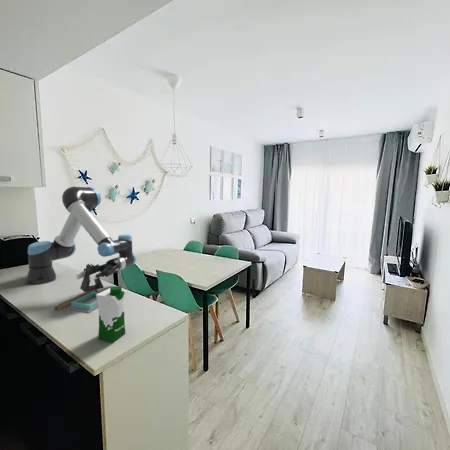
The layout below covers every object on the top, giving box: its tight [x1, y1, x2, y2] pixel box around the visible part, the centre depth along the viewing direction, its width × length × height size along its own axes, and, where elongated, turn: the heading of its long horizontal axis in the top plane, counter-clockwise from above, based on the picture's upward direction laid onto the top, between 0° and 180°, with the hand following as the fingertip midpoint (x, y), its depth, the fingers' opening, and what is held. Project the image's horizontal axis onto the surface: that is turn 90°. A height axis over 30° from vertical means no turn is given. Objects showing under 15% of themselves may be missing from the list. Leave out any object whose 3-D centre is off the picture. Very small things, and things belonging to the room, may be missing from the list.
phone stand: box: [79, 263, 104, 293], centre depth 126 cm, size 9×6×12 cm, turn 135°
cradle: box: [65, 291, 100, 314], centre depth 128 cm, size 13×18×3 cm
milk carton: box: [96, 285, 127, 344], centre depth 99 cm, size 9×9×20 cm
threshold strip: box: [54, 289, 98, 312], centre depth 130 cm, size 3×24×2 cm, turn 165°
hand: (83, 277), depth 121 cm, fingers closed on phone stand, 7 cm apart
